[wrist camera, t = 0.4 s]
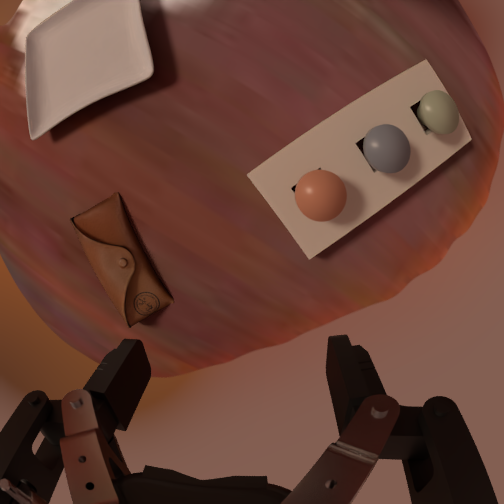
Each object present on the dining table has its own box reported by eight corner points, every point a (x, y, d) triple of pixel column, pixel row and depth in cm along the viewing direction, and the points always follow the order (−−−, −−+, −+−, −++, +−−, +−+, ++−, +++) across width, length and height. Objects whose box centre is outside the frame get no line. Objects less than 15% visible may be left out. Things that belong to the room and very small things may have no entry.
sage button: (410, 89, 26) (425, 83, 23) (443, 103, 26) (459, 99, 23) (407, 127, 28) (422, 125, 24) (440, 140, 28) (457, 139, 24)
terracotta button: (296, 165, 30) (300, 165, 27) (341, 173, 30) (350, 175, 27) (288, 210, 32) (291, 217, 28) (333, 218, 32) (341, 225, 28)
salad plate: (143, -25, 24) (134, -35, 20) (164, 81, 30) (154, 74, 27) (36, 38, 26) (24, 34, 23) (44, 143, 32) (30, 143, 29)
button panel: (417, 64, 27) (426, 59, 24) (461, 139, 29) (471, 139, 27) (248, 173, 33) (246, 174, 30) (306, 252, 35) (309, 259, 33)
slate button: (358, 122, 28) (370, 118, 25) (398, 134, 28) (413, 132, 25) (352, 165, 30) (363, 166, 26) (392, 175, 30) (406, 178, 26)
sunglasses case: (179, 304, 39) (146, 333, 34) (154, 305, 43) (124, 330, 38) (117, 186, 34) (75, 206, 29) (99, 203, 38) (63, 222, 33)
